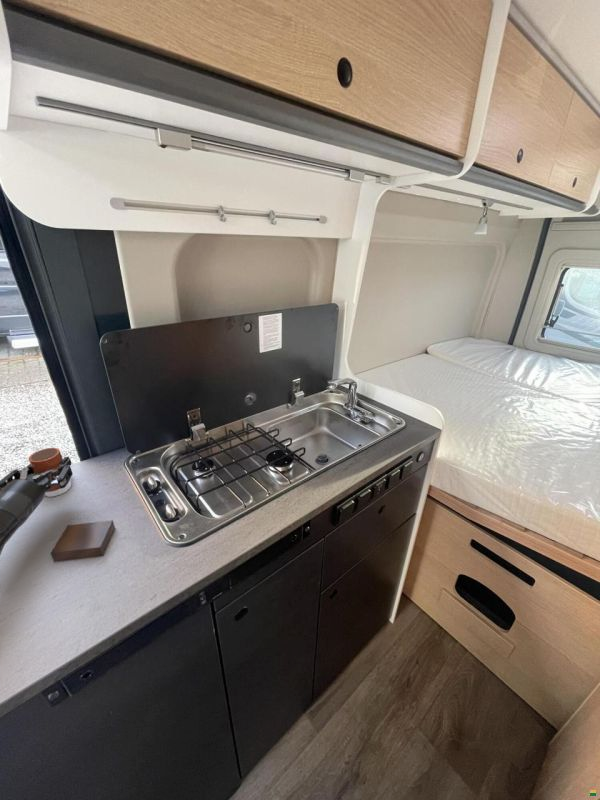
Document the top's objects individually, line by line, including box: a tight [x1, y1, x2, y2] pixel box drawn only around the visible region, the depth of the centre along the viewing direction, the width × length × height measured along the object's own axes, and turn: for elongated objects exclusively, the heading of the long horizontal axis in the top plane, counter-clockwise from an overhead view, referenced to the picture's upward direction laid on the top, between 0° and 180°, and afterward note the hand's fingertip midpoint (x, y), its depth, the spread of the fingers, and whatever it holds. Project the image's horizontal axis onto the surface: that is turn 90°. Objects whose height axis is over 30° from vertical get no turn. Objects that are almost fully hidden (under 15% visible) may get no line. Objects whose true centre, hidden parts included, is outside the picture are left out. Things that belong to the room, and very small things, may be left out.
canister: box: [28, 447, 71, 492], centre depth 82 cm, size 6×6×9 cm
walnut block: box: [50, 520, 116, 563], centre depth 76 cm, size 10×8×4 cm
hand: (53, 460), depth 83 cm, fingers closed on canister, 6 cm apart
